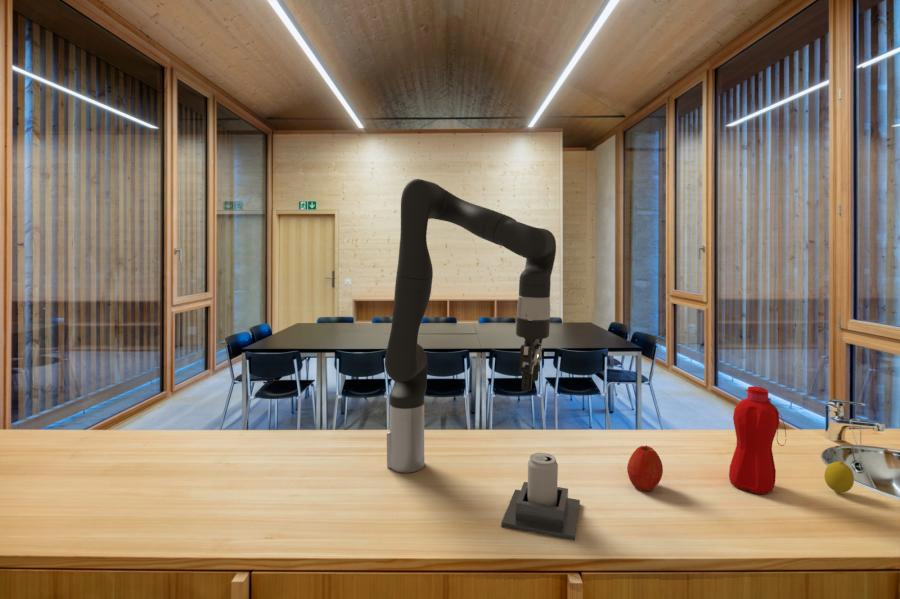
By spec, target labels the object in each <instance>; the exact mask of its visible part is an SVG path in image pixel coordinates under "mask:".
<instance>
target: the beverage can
mask: <svg viewBox="0 0 900 599" xmlns="http://www.w3.org/2000/svg"><path fill="white" fill-rule="evenodd" d="M558 469H559V465H558V462H557V458H556V456H554V455H553V454H550V453H547V452H536V453H535V452H534V453H533V454H531V455H530V456H529V460H528V462H527V482H528V499H527V502H532V503H538V504H544V505H549V506H555V507H557V487H558V480H559V479H558V477H559V476H558V474H559V473H558V472H559V470H558Z"/></svg>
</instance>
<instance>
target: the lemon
mask: <svg viewBox="0 0 900 599" xmlns="http://www.w3.org/2000/svg"><path fill="white" fill-rule="evenodd" d="M824 470H825V471H824V481H825V483H826V484H825V485H827V487H828V488H829V489H830V490H832V491H833V492H835V494H841V493H847V492H848V491H850V490H852V488H853V486H854V481H855V477H854V472H853V470H852V469H851V467H850V466H848V465H847V464H846V463H844V462H843V461H840V460H838V461H833V462H830V463H829V464H828V465H826V468H825V469H824Z"/></svg>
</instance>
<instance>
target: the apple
mask: <svg viewBox="0 0 900 599" xmlns="http://www.w3.org/2000/svg"><path fill="white" fill-rule="evenodd" d="M628 459H629V460H628V463H627V467H626V469H627V471H626V472H627V476H628V479H629V480H630V482H631V484H632V486H633V487H634V488H636V489H638V490H640V491H644V492H645V491H651V490H654V489H655V488H656V487H657V486H658V485H659V483H660V482H661V480H662V477H663V474H664V467H663V462H662V460H661V458H660V456H659V454H658V453H657V452H656V450H655V449H654V448H653V447H651V446H649V445H641V446H638V447H637V448H636V449H635V450H634V451H633V452H632V454H631V455H630V457H629V458H628Z"/></svg>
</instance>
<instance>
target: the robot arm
mask: <svg viewBox="0 0 900 599" xmlns="http://www.w3.org/2000/svg"><path fill="white" fill-rule="evenodd" d="M400 198H401V199H400V238H399V247H398V248H399V249H398V259H397V260H398V261H397V262H398V263H397V269H396V277H395V286H394V296H393V297H394V298H393V299H394V300H393V308H392V316H391V317H392V319H391V329H390V334H389V339H388V343H387V346H386V352H385V356H384V357H385V358H384V368H385V371H386V374H387V376H388V377H389V378H390V379H391V380H392V381H393V382H394V384H393V387H392V389H391V391H390V393H389V402H388V403H389V404H388V405H389V430H388V432H386V467H387V468H389V469H391V470H392V471H394V472H397V473H405V474H406V473H414V472H418V471H421V470H422V469H423V468H424V467H425V396H426V392H427V387H428V384H427V383H428V357H427V353H426V351H425V349H424V348H423V347H422V346H421V345H420V344H419V343H418V337H419V331H420V328H421V324H422V321H423V318H424V316H425V314H426V311H427V308H428V305H429V302H430V298H431V293H432V285H433V277H434V276H433V273H434V272H433V264H432V260H431V256H430V252H429V249H428V244H427V240H428V239H427V234H428V233H427V230H428V224H429V220H431V219H432V220H438V221H442V222H443V221H444V222H449V223H452V224H454V225H457V226H458V227H461V228H463V229H464V230H466V231H468V232H469V233H471V234H473V235H475V236H476V237H478V238H481V239H483V240H485V241H488V242H490V243H493V244H495V245H498V246H502V247H504V248H505V249H507V250H509V251H510V252H511V253H514V254H516V255H518V256H520V257H523V258H524V259H526V260H525V267H524V270H523V271H522V272H521V273H520V275H519V280H518V282H519V283H518V299H517V304H516V306H517V307H516V322H515V323H516V325H515V326H516V327H515V334H516V336H517V337H519V338H523V339H524V343H523V344H522V345H520V347H519V348H520V354H519V369H518V371H519V373H521V386H520V388H521V390H522V391H527V392H528V391H529V392H530V391H532V386H533V382H537V381H538V380H539V369H540V365H541V361H542V360H543V357H542V354H543V353H542V352H543V350H542V349H543V339H547V338H548V337H549V336H550V324H551V298H550V297H551V285H552V284H551V282H552V281H551V278H552V277H551V276H552V273H553V269H554V264H555V261H556V260H555V259H556V253H557V241H556V238H555V235H554V234H553V233H552V232H551V231H550V230H549V229H546V228H542V227H541V228H540V227H536V226H531V225H529V224H525V223H523V222H520V221H517V220H516V219H515V218H514V217H511V216H509V215H507V214H504V213H501V212H499V211H495V210H493V209H490V208H488V207H485V206H481V205H477V204H474V203H471V202H469V201H466V200H464V199H461V197H459V196H457V195H454V194H452V192H449V191H448V190H446V189H445V188H443V187H442V186H441V185H439V184H437V183H435V182H432V181H429V180H425V179H420V178H415V179H414V178H413V179H411V180H410V181H408V183H406V185H405V186H404V188H403V190H402V193H401V197H400ZM526 366H528V367H526Z"/></svg>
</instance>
